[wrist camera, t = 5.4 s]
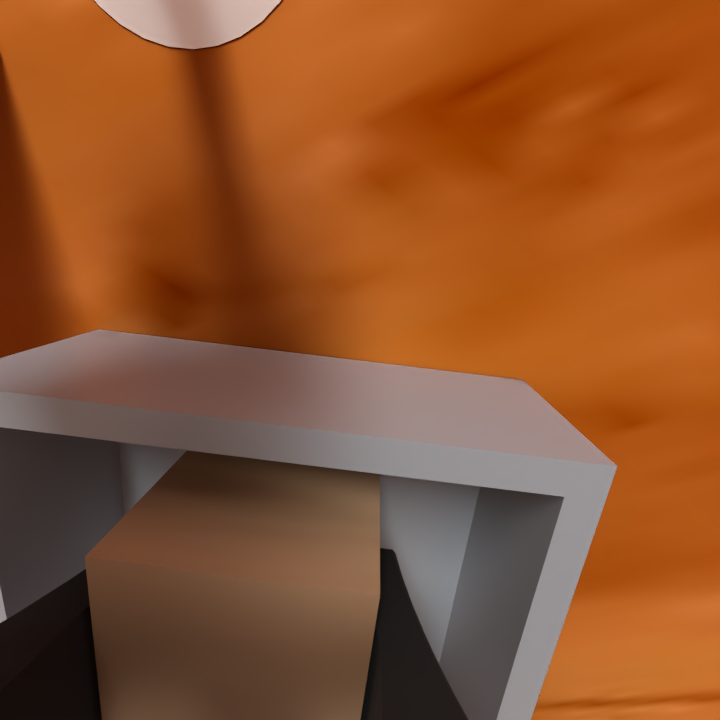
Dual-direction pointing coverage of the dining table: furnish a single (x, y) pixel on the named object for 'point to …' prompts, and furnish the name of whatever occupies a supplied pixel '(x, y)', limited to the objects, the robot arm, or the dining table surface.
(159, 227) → the dining table surface
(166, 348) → the tote
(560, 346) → the dining table surface
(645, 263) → the dining table surface
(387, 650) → the robot arm
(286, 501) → the walnut cube
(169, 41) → the champagne flute
